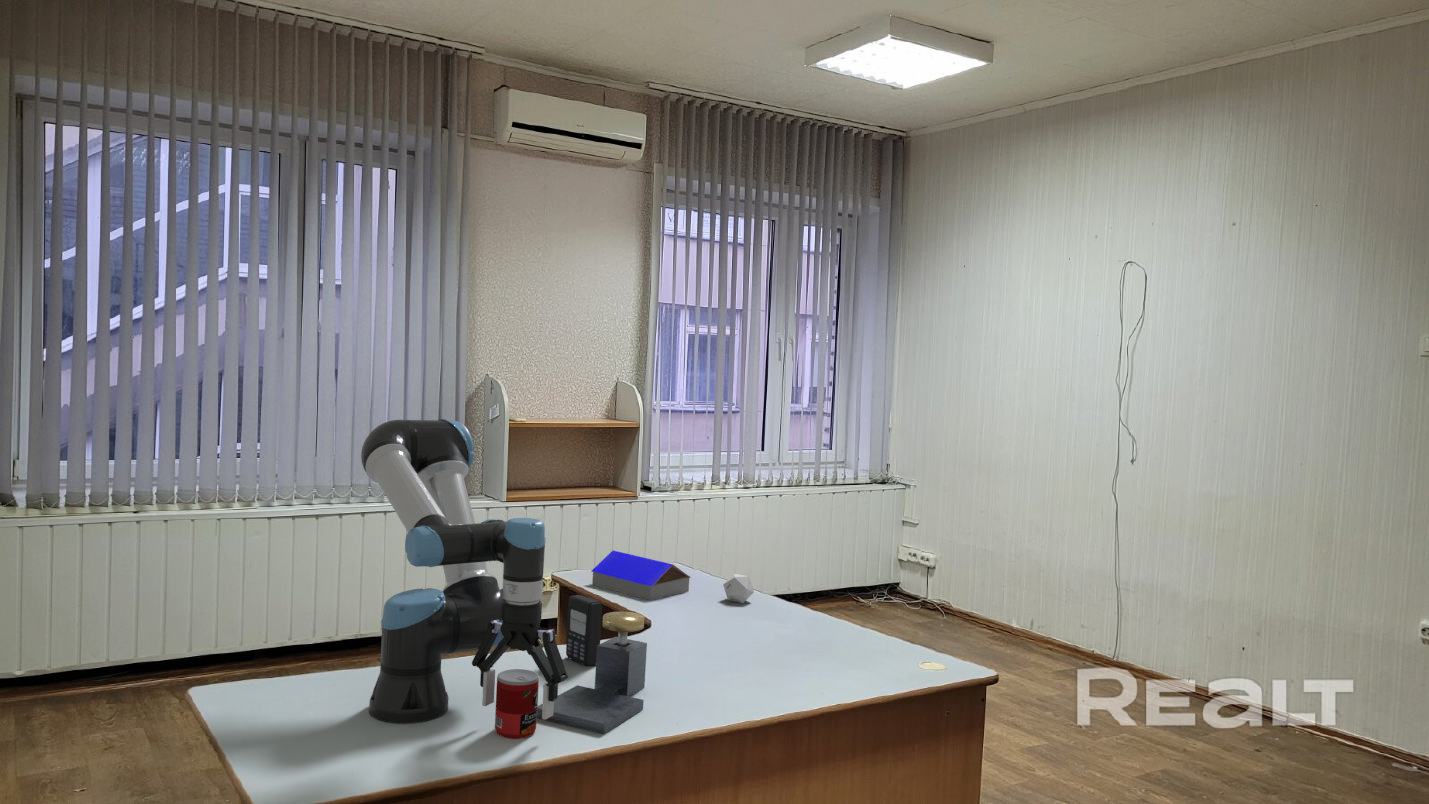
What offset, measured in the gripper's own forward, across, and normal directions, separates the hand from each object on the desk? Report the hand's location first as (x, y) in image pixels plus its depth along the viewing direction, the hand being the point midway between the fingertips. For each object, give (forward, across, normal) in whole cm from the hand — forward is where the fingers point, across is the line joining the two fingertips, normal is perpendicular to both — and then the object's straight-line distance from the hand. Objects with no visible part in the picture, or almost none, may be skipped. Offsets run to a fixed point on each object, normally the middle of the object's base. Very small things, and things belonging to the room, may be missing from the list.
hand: (517, 710), depth 195 cm
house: (+3, -35, +117) cm, 122 cm away
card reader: (+4, -12, +44) cm, 46 cm away
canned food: (+4, 0, 0) cm, 4 cm away
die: (+3, -4, +120) cm, 121 cm away
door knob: (-2, +5, +32) cm, 33 cm away
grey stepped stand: (+4, +7, +22) cm, 24 cm away
